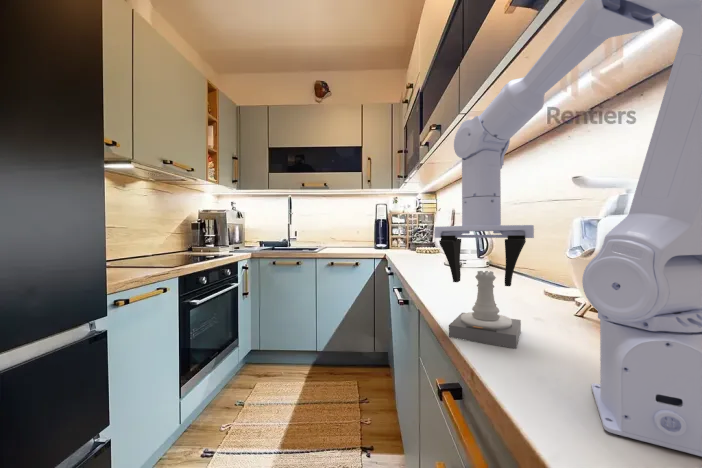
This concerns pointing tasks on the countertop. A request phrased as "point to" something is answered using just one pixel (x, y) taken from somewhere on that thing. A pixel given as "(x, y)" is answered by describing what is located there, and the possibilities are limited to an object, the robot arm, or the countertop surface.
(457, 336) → the kitchen scale
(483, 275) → the rook chess piece
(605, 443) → the countertop surface
